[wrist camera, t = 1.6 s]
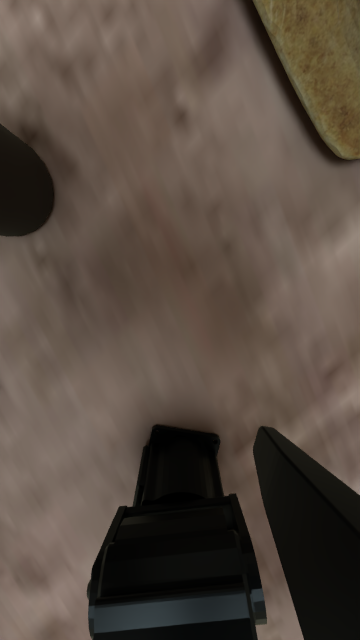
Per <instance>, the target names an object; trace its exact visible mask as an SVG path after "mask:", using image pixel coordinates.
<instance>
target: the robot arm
mask: <svg viewBox="0 0 360 640" xmlns="http://www.w3.org/2000/svg"><path fill="white" fill-rule="evenodd" d="M156 430H158V431H159V432H155V431H156ZM213 440H216V441H213ZM219 445H220V438H219V436H218V435H216V434H210V433H203V432H197V431H191V430H185V429H178V428H172V427H166V426H160V425H156V426H154V427H153V428H152V432H151V437H150V442H149V446H147V445H146V446H145V447H143V453H142V458H141V464H140V469H139V474H138V480H137V485H136V491H135V496H134V502H133V507H127V506H119V508H118V510H117V513H116V515H115V517H114V519H113V521H112V523H111V526H110V528H109V530H108V533H107V535H106V537H105V539H104V542H103V544H102V546H101V549H100V551H99V553H98V556H97V558H96V560H95V562H94V565H93V567H92V573H91V580H90V581H89V583H88V587H87V597H88V599H89V611H88V621H89V631H90V636H91V638H92V640H258V638H257V633H256V627H255V625H263V624H267V617H266V608H265V601H264V595H263V590H262V585H261V579H260V575H259V570H258V565H257V561H256V557H255V553H254V549H253V545H252V541H251V538H250V535H249V532H248V529H247V526H246V523H245V519H244V516H243V513H242V510H241V507H240V504H239V501H238V498H237V495H236V494H229V496H224V493H223V488H222V483H221V478H220V473H219V468H218V463H217V458H216V457H217V453H218V449H219ZM253 455H254V460H255V465H256V470H257V475H258V480H259V485H260V490H261V495H262V499H263V504H264V507H265V511H266V514H267V518H268V521H269V524H270V528H271V531H272V534H273V538H274V541H275V544H276V548H277V551H278V554H279V558H280V561H281V564H282V568H283V571H284V574H285V578H286V581H287V584H288V587H289V591H290V594H291V597H292V601H293V604H294V607H295V611H296V614H297V617H298V621H299V624H300V627H301V631H302V634H303V637H304V640H360V495H359V494H357V493H356V492H355V491H353V490H352V489H351V488H350V487H348V486H347V485H346V484H345V483H343V482H342V481H341V480H339V479H338V478H337V477H336V476H334V475H333V474H332V473H330V472H329V471H328V470H327V469H325V468H324V467H323V466H321V465H320V464H319V463H318V462H316V461H315V460H314V459H313V458H311V457H310V456H309V455H307V454H306V453H305V452H304V451H302V450H301V449H300V448H298V447H297V446H296V445H295V444H293V443H292V442H291V441H290V440H288V439H287V438H286V437H284V436H283V435H282V434H281V433H279V432H278V431H277V430H275V429H274V428H272V427H266V426H261V427H260V428H259V429H258V432H257V436H256V439H255V443H254V446H253Z"/></svg>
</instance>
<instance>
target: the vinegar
mask: <svg viewBox="0 0 360 640" xmlns="http://www.w3.org/2000/svg"><path fill="white" fill-rule="evenodd" d="M52 200H53V190H52V182H51V178H50V176H49V173H48V171H47V169H46V167H45V164H44V163H43V161H42V160H41V159H40V158H39V156H38V155H37V154H36V153H35V151H34V150H33V149H32V148H31V147H29V146H28V145H27V144H25V143H24V142H23V141H22V140H20V139H19V138H18V137H16V136H15V135H14V134H13V133H11V132H10V131H9V130H7V129H6V128H5V127H4V126H2V125H1V124H0V235H2V236H22V235H25V234H27V233H30V232H32V231H35V230H36V229H37V228H38V227H39V226H40V225H41V224H43V223H44V222H45V220H46V218H47V216H48V214H49V212H50V210H51V206H52Z"/></svg>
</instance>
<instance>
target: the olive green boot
mask: <svg viewBox="0 0 360 640" xmlns="http://www.w3.org/2000/svg"><path fill="white" fill-rule="evenodd" d="M253 2H254V4H255V7H256V9H257V11H258V13H259V15H260V17H261V20H262V22H263V24H264V26H265V28H266V31H267V33H268V35H269V37H270V39H271V41H272V43H273V45H274V48H275V50H276V53H277V55H278V57H279V59H280V61H281V63H282V65H283V67H284V69H285V71H286V73H287V75H288V78H289V80H290V82H291V83H292V85H293V87H294V89H295V91H296V93H297V95H298V97H299V99H300V101H301V103H302V105H303V107H304V108H305V110H306V112H307V114H308V115H309V117H310V119H311V121H312V123H313V124H314V126H315V128H316V130H317V132H318V133H319V135H320V137H321V138H322V140H323V141H324V142H325V143H326V145H327V146H328V147H329V148H330V149H331V150H332V151H333V152H334V153H335V154H336V155H337V156H338V157H340V158H343V159H345V160H353V159H359V158H360V0H253Z"/></svg>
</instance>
